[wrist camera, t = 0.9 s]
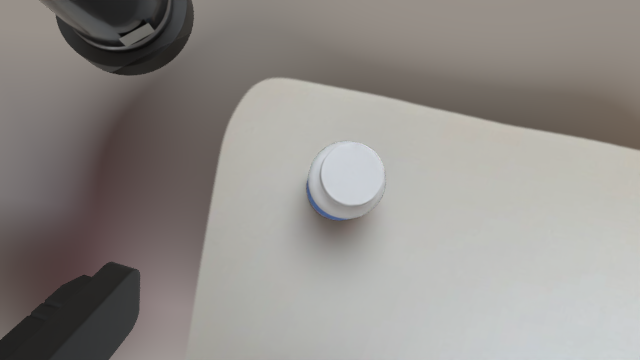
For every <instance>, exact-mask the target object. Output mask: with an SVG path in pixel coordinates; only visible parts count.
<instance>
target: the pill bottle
mask: <svg viewBox="0 0 640 360" xmlns="http://www.w3.org/2000/svg"><path fill="white" fill-rule="evenodd" d="M385 185H386V175H385V170H384V167H383V164H382V161H381V159H380V157H379V156H378V155H377V153H376V152H375V151H374V150H372V149H371V148H370V147H368V146H366V145H364V144H361V143H357V142H352V141H341V142H336V143H333V144H331V145H329V146H327V147H326V148H324V149H323V150H322V151H321V152H319V153H318V154H317V156H316V157H315V158H314V160H313V162H312V164H311V166H310V170H309V174H308V180H307V187H306V189H307V196H308V199H309V201H310V203H311V205H312V207H313V208H314V209H315V210H316V211H317V212H318V213H319V214H320V215H322V216H324V217H326V218H328V219H331V220H347V219H352V218H357V217H360V216H363V215H365V214H366V213H368V212H370V211H371V210H372V209H373V208H374V207H375V206H376V205H377V204H378V203H379V201H380V200H381V198H382V196H383V193H384V190H385Z"/></svg>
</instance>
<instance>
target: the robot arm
mask: <svg viewBox="0 0 640 360" xmlns="http://www.w3.org/2000/svg"><path fill="white" fill-rule="evenodd" d="M39 1H41V2H42V3H43V4H44V5H45V6H46V7H48V8H49V9H50V10H51V11H52V12H54V13H55V14H56V15H57V16H58V17H59V18H60V19H62V20H63V21H64V22H65V23H66V24H68V25H69V26H70V27H71V28H72V29H73V30H74V31H75V32H76V33H77V34H78V35H79V36H80V37H81V38H82V39H84V40H85V41H86V42H87V43H89V44H90V45H92V46H94V47H96V48H98V49H100V50H103V51H107V52H112V53H127V52H132V51H136V50H139V49H142V48H144V47H146V46H148V45H149V44H151V43H152V42H154V41H155V40H156V39H157V38H158V37H159V36H160V35H161V34H162V33H163V31H164V30H165V29H166V27H167V25H168V23H169V21H170V18H171V15H172V10H173V0H39ZM139 298H140V272H139V270H137V269H134V268H130V267H127V266H124V265H120V264H118V263H114V262H109V263H107V264H106V265H104V266H103V267H102V268H101V269H100V270H99V271H98V272H97V273H96V274H95V275H94V276H93V277H89V276H86V275H82V276H80V277H78V278H76V279H74V280H72V281H70V282H68V283H66V284H64V285H62V286H61V287H60V288H58V289H57V290H56V291H55V292H54V293H53V294H52V295H51V296H50V297H48V298H47V299H46V300H45V302H44V303H42V304H40V305H39V306H38V307H37V308H36V309H35V310H34V311H32V313H31V315H30V316H27V317H26V318H25V319H24V320H22V321H21V322H20V323H19V324H18V325H17V326H16V327H15V328H13V329H12V330H11V331H10V332H9V333H8V334H7V335H5V336H4V337H3V338H2V339H1V340H0V360H109V359H110V357H111V356H112V355H113V354H114V352H115V351H116V350H117V348H118V347H119V346H120V345H121V343H122V342H123V341H124V340H125V338H126V337H127V336H128V334H129V333H130V332H131V330H132V329H133V326H134V325H135V322H136V320H137V317H138V314H139V300H140V299H139Z"/></svg>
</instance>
